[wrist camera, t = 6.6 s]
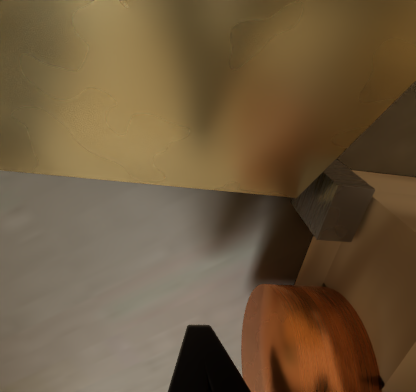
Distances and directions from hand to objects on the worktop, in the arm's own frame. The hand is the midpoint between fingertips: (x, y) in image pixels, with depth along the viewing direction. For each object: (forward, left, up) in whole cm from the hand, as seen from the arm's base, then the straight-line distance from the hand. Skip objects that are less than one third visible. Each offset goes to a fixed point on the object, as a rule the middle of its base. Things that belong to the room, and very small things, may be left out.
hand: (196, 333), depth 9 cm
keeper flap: (+9, +3, +1) cm, 10 cm away
